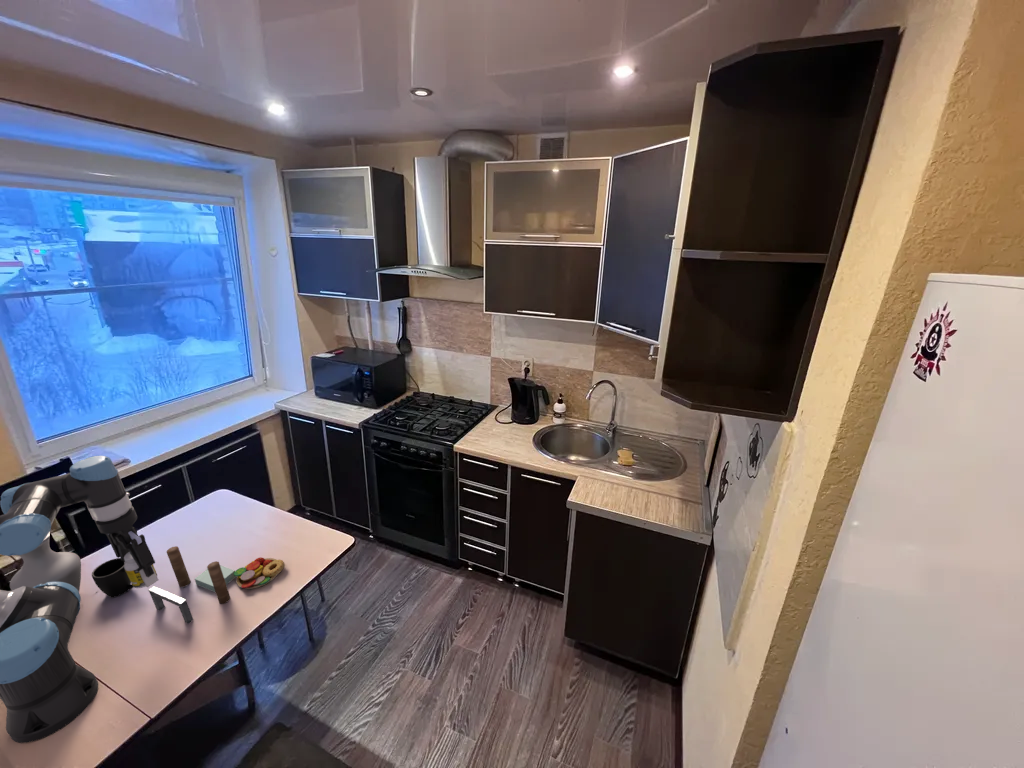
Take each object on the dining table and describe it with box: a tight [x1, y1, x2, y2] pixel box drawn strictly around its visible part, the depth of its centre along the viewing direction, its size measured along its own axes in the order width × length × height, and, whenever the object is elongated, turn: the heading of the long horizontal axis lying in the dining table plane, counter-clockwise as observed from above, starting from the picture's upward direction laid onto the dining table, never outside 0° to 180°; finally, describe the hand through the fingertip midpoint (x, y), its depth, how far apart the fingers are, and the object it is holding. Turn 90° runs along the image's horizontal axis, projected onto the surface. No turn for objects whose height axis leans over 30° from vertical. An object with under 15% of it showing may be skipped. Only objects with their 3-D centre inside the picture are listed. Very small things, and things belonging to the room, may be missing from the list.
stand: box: [194, 565, 237, 593], centre depth 138 cm, size 7×9×2 cm
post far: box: [166, 546, 192, 588], centre depth 134 cm, size 3×3×14 cm
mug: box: [91, 557, 134, 598], centre depth 133 cm, size 8×12×10 cm
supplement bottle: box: [124, 552, 158, 589], centre depth 115 cm, size 5×5×10 cm
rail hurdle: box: [148, 585, 194, 625], centre depth 125 cm, size 2×14×8 cm, turn 70°
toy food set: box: [234, 557, 286, 590], centre depth 140 cm, size 13×13×3 cm
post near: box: [206, 561, 231, 605], centre depth 129 cm, size 3×3×14 cm
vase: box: [9, 531, 82, 592], centre depth 125 cm, size 14×14×25 cm
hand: (145, 580), depth 117 cm, fingers closed on supplement bottle, 5 cm apart
